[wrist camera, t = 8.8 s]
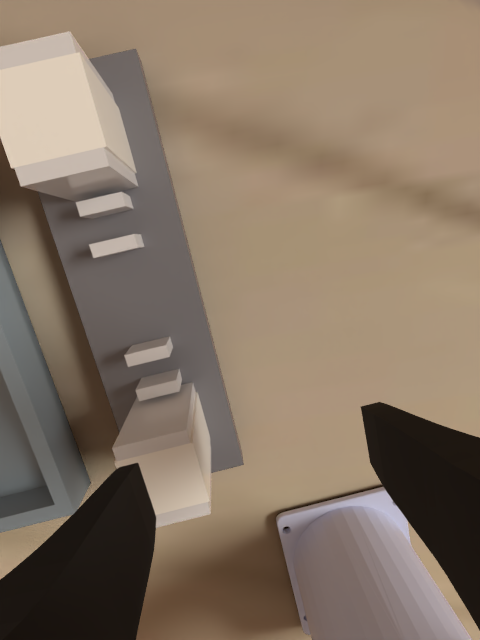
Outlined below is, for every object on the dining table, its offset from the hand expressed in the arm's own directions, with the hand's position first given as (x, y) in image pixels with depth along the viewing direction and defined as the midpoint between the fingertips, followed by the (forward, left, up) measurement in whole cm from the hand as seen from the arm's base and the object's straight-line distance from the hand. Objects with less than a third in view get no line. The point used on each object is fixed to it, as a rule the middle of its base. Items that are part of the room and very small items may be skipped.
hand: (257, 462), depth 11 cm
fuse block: (+5, +4, -9) cm, 11 cm away
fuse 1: (+12, +4, -8) cm, 15 cm away
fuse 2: (-2, +4, -8) cm, 9 cm away
